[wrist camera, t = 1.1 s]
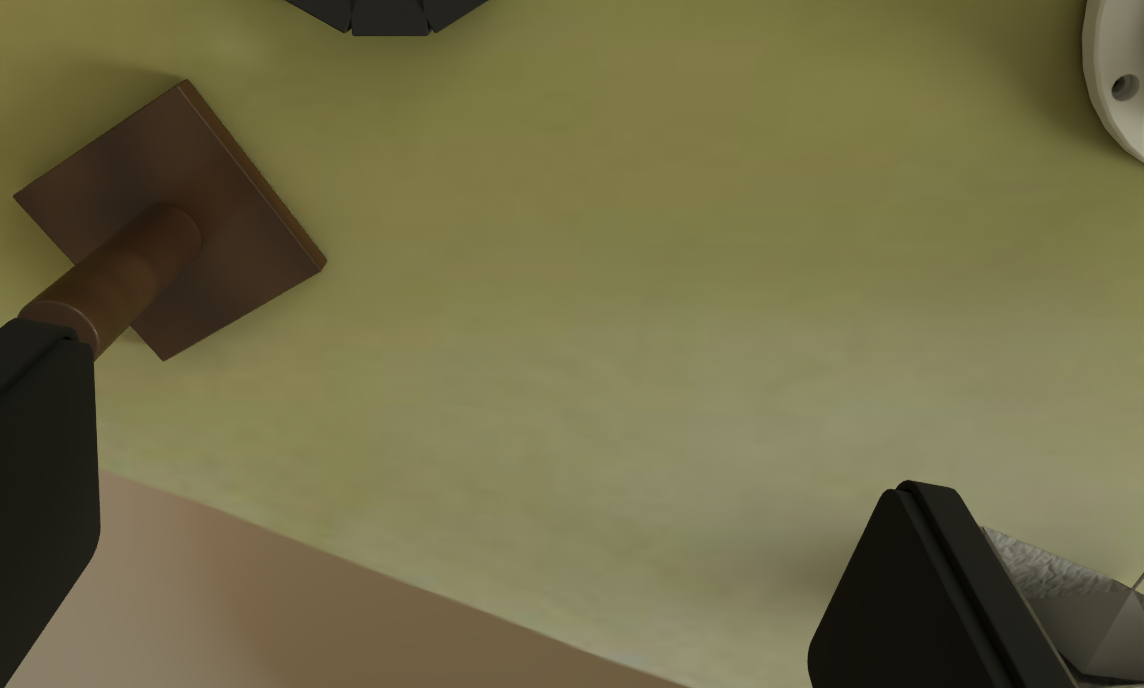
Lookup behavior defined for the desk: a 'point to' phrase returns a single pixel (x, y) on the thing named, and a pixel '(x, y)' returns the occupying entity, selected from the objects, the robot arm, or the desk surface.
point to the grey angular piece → (1079, 614)
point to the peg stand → (164, 231)
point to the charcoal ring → (388, 15)
